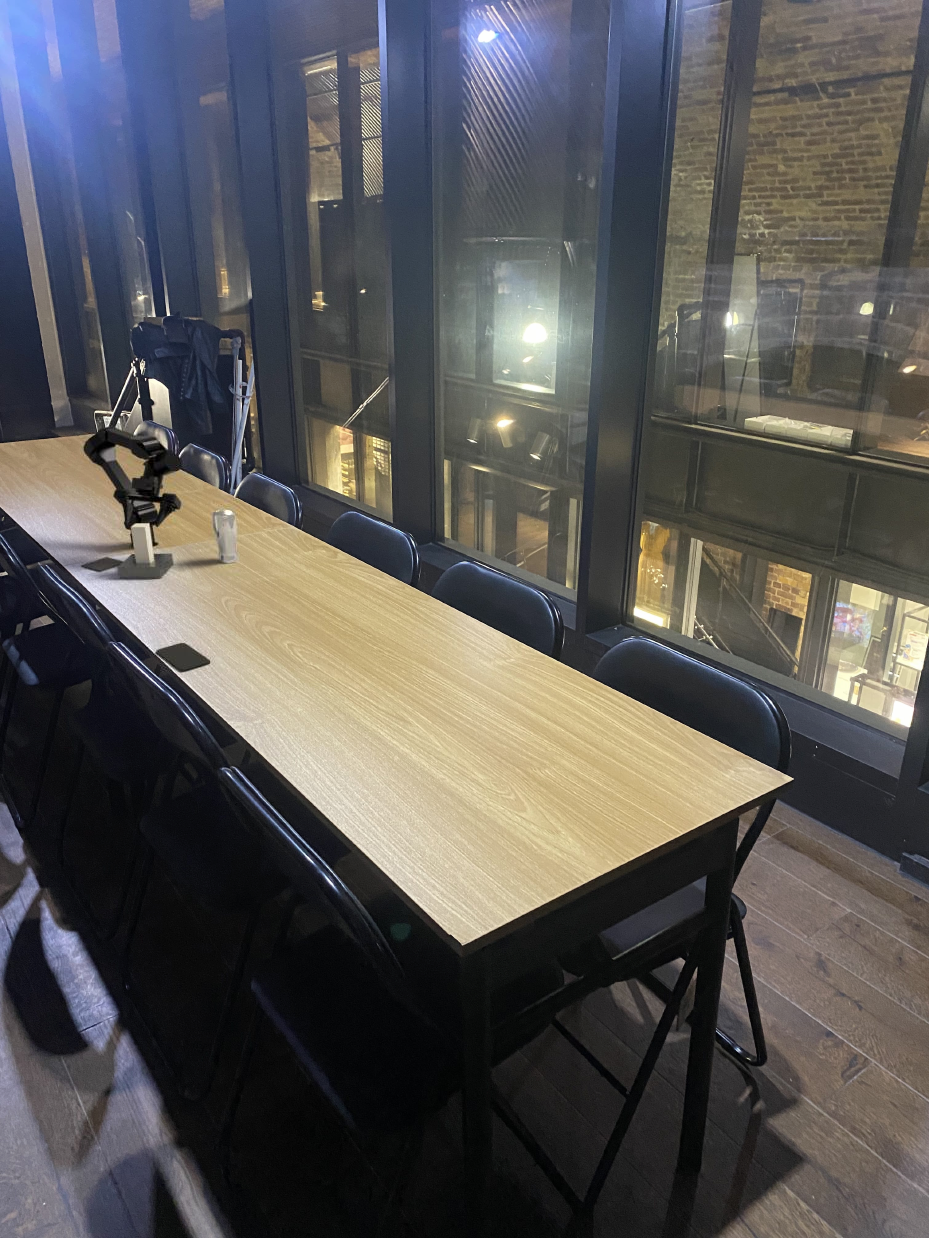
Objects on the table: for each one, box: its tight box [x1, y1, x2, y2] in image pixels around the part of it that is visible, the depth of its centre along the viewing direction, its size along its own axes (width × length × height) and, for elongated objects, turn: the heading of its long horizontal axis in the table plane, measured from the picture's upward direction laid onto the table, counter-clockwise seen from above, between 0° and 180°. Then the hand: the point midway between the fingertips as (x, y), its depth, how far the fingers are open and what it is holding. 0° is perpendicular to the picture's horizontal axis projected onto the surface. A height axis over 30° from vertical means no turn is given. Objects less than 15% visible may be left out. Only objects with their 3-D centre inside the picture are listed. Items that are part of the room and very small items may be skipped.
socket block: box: [117, 553, 174, 580], centre depth 258 cm, size 12×12×4 cm
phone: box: [155, 642, 211, 673], centre depth 203 cm, size 7×1×15 cm
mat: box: [80, 556, 125, 573], centre depth 264 cm, size 9×9×1 cm
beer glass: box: [211, 509, 240, 564], centre depth 265 cm, size 7×7×15 cm
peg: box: [130, 523, 155, 563], centre depth 256 cm, size 4×4×14 cm
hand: (141, 525), depth 260 cm, fingers open, 9 cm apart
